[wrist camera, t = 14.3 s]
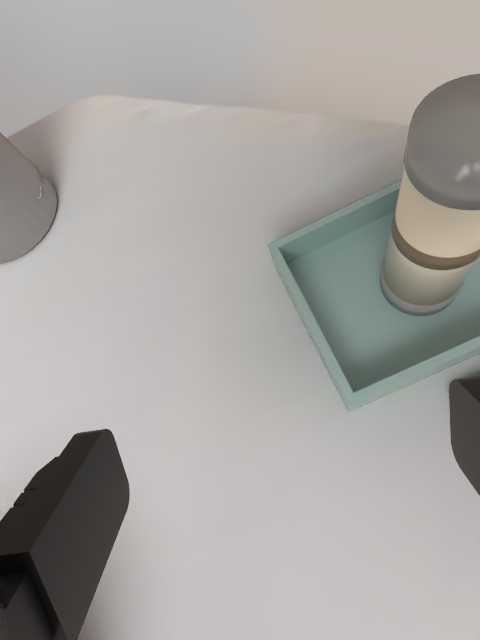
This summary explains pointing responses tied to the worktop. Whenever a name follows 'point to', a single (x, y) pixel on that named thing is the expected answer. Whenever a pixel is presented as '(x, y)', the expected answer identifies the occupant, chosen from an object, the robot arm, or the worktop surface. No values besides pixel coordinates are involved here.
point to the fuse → (437, 202)
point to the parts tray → (369, 304)
